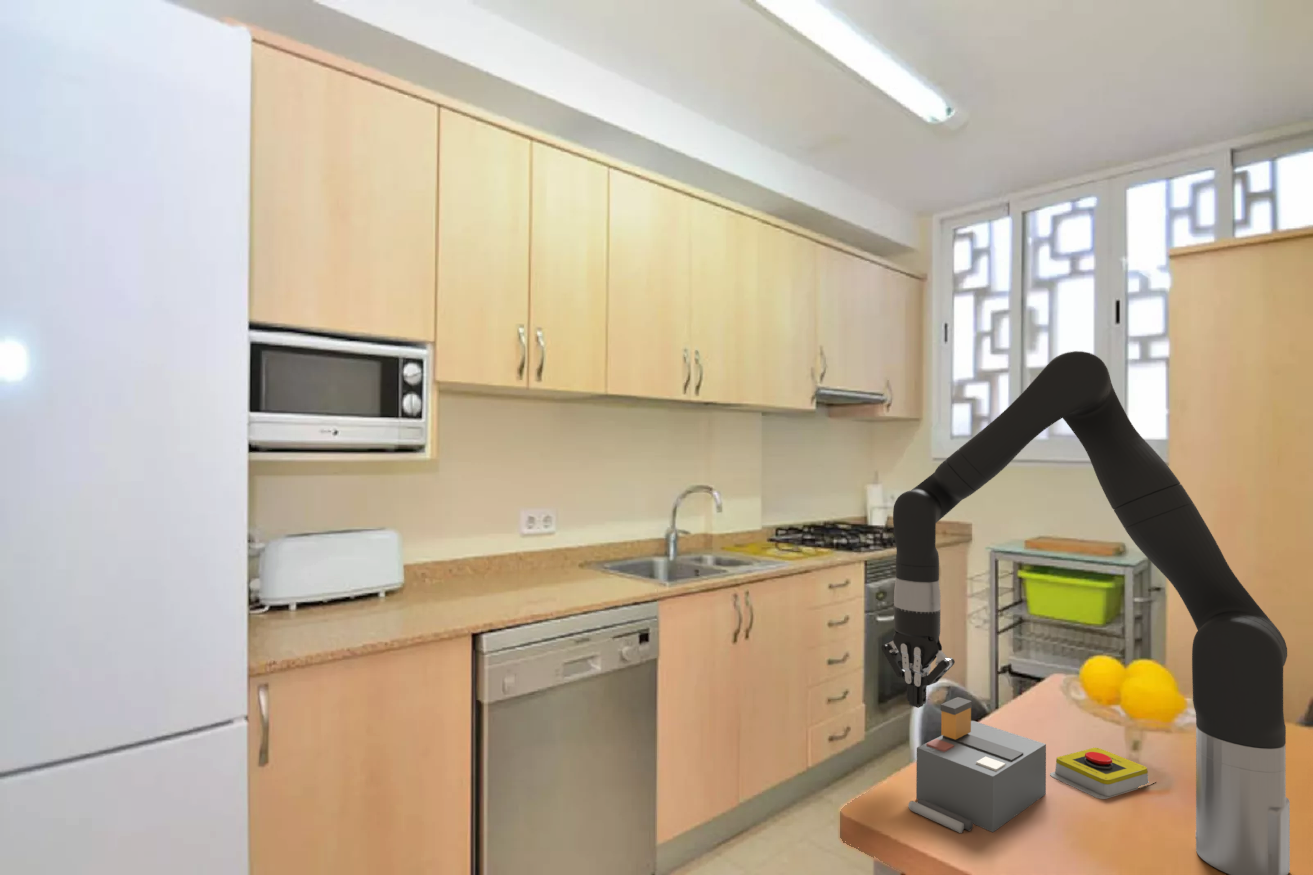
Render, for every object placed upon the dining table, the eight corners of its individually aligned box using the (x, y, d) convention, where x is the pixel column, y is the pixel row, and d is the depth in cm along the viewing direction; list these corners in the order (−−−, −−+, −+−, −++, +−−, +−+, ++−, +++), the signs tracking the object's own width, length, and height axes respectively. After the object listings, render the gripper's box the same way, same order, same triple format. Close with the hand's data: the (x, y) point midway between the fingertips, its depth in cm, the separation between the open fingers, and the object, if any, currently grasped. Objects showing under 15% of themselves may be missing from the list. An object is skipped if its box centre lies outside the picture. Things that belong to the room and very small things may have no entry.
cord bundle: (972, 829, 100) (972, 819, 100) (962, 836, 98) (962, 826, 98) (917, 804, 107) (917, 795, 107) (906, 810, 105) (906, 801, 105)
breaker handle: (971, 731, 114) (971, 701, 114) (954, 740, 110) (954, 708, 110) (957, 726, 116) (957, 696, 116) (940, 735, 112) (940, 704, 112)
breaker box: (1045, 794, 110) (1045, 742, 111) (992, 832, 99) (993, 774, 99) (972, 766, 120) (972, 718, 120) (916, 798, 109) (916, 745, 109)
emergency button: (1046, 751, 117) (1103, 737, 124) (1046, 777, 117) (1103, 762, 123) (1101, 775, 109) (1159, 759, 115) (1101, 803, 109) (1159, 785, 115)
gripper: (965, 609, 116) (964, 712, 116) (895, 595, 126) (894, 690, 126) (942, 615, 111) (941, 723, 111) (871, 600, 122) (870, 699, 121)
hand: (916, 705), depth 119 cm, fingers closed
